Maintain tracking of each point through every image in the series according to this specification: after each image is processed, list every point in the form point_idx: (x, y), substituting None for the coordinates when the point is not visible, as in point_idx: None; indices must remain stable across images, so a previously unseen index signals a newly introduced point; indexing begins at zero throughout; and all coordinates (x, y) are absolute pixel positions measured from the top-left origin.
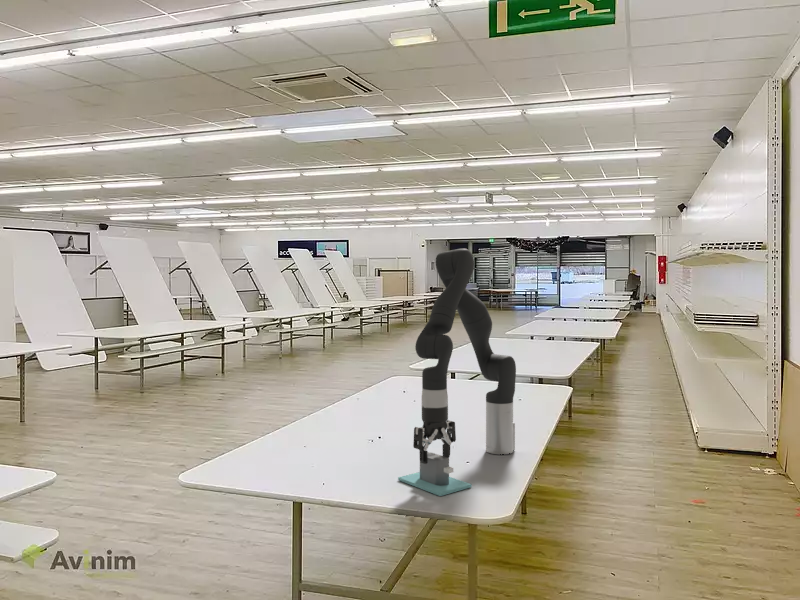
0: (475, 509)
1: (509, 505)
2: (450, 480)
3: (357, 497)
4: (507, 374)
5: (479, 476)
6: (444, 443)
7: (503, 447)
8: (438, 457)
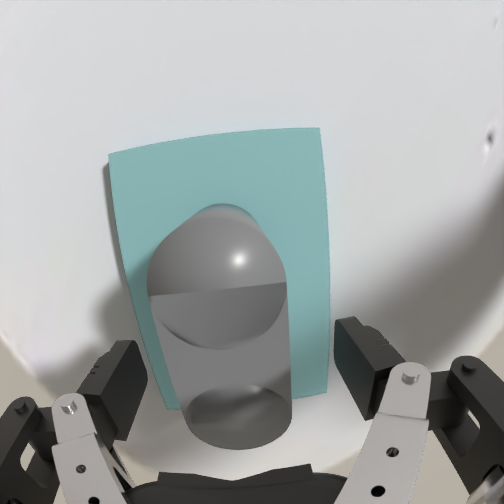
0: (209, 475)
1: None
2: (295, 328)
3: None
4: None
5: (432, 295)
6: (382, 393)
7: None
8: (240, 398)
